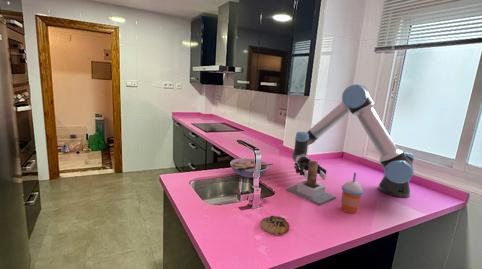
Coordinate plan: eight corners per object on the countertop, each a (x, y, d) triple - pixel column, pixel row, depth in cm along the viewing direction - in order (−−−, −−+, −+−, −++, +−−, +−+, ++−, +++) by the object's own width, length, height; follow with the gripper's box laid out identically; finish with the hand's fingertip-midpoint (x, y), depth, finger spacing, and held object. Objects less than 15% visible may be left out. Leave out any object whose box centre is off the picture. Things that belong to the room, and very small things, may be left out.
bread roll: (285, 220, 102) (287, 209, 100) (291, 240, 91) (292, 228, 90) (258, 219, 102) (259, 209, 100) (261, 239, 91) (261, 228, 90)
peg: (316, 192, 128) (319, 162, 125) (311, 194, 125) (314, 164, 122) (309, 189, 131) (312, 160, 128) (304, 191, 128) (307, 161, 125)
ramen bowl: (253, 167, 165) (254, 155, 163) (277, 179, 146) (278, 165, 145) (220, 172, 150) (221, 159, 149) (242, 186, 132) (243, 172, 130)
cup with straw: (347, 216, 109) (353, 176, 105) (334, 206, 117) (339, 169, 114) (364, 214, 111) (371, 176, 108) (350, 204, 120) (356, 169, 116)
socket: (335, 198, 126) (336, 188, 125) (319, 205, 117) (321, 195, 115) (302, 184, 140) (303, 176, 139) (286, 190, 131) (287, 181, 130)
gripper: (320, 169, 145) (336, 185, 123) (284, 167, 144) (293, 183, 122) (322, 157, 143) (338, 171, 121) (286, 155, 143) (295, 168, 120)
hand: (315, 177), depth 122 cm, fingers open, 8 cm apart
